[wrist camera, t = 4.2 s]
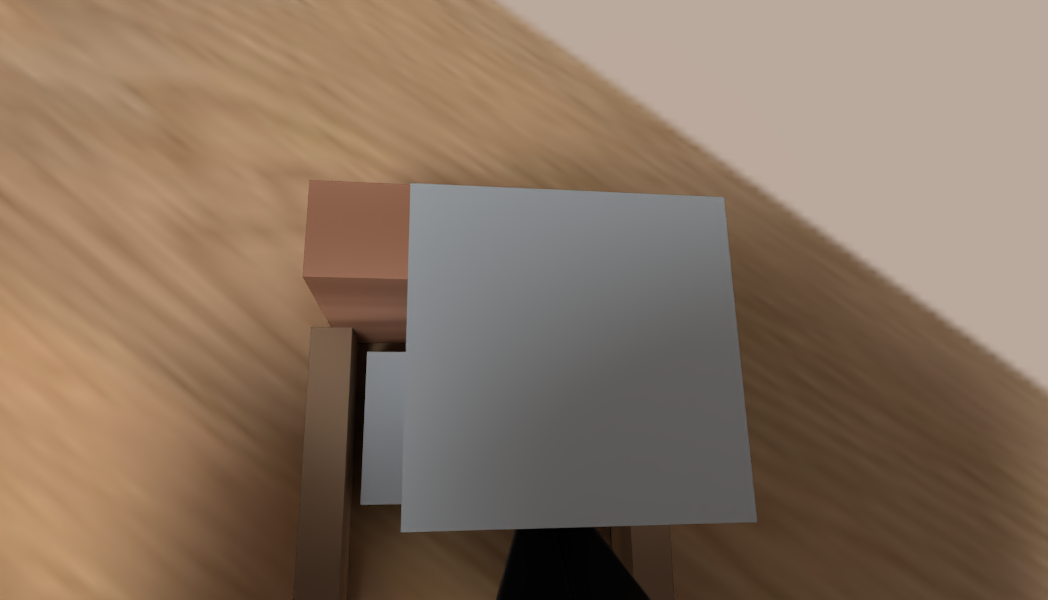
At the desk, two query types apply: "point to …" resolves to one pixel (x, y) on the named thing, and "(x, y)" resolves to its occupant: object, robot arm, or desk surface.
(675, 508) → the sliding block
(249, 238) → the desk surface
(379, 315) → the guide track
